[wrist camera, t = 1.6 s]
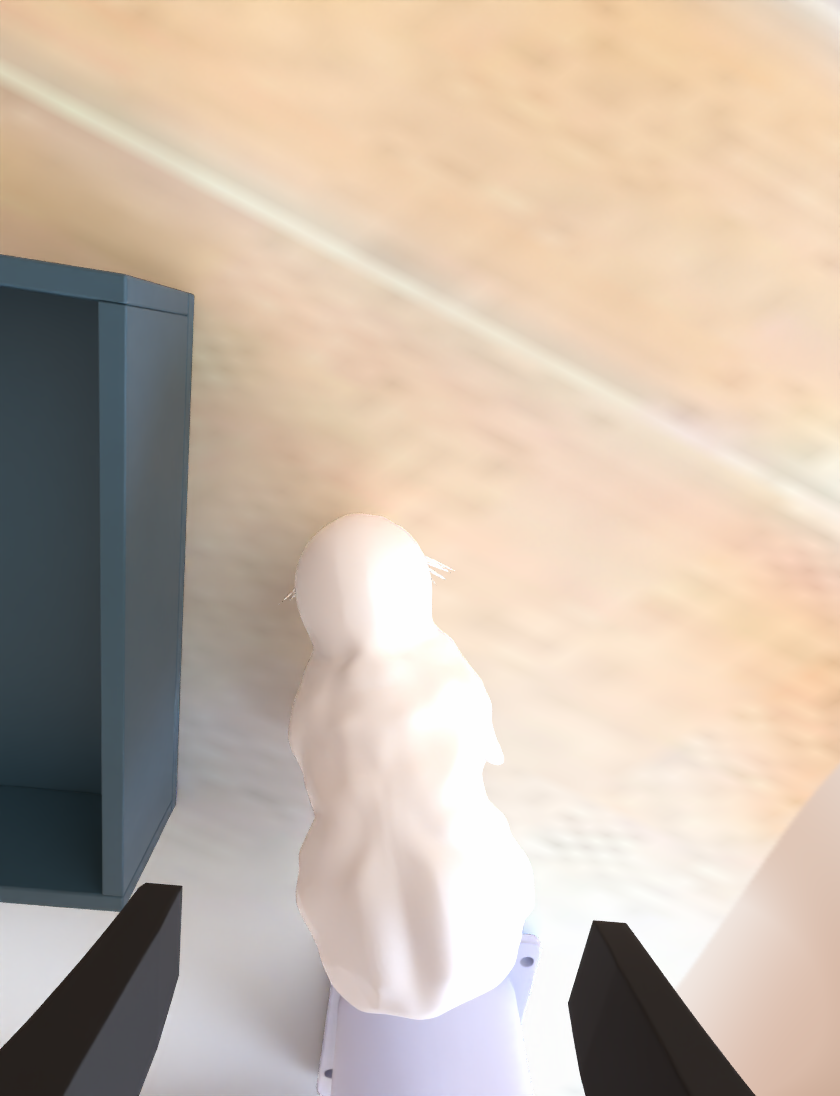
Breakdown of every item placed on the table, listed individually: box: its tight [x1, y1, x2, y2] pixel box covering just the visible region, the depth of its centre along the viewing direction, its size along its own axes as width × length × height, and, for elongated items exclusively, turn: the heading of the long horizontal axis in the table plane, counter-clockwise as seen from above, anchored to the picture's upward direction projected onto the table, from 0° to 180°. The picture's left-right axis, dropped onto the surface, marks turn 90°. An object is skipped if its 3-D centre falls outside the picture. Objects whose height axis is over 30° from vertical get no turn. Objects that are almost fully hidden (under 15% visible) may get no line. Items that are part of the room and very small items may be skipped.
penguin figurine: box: [279, 513, 534, 1020], centre depth 17 cm, size 6×8×12 cm
